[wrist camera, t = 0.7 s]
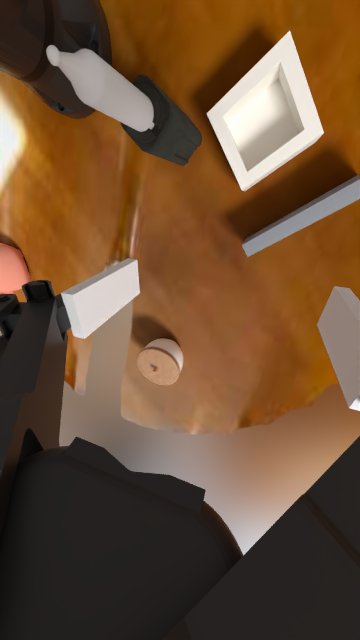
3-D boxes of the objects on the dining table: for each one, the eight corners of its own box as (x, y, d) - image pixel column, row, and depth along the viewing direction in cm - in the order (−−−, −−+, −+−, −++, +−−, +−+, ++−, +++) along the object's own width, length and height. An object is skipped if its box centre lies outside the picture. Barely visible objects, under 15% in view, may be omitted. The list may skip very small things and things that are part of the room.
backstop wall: (245, 238, 37) (241, 245, 32) (357, 174, 28) (376, 170, 24) (250, 249, 37) (247, 256, 32) (362, 189, 29) (381, 187, 24)
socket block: (214, 124, 31) (206, 113, 27) (286, 57, 26) (289, 30, 22) (244, 191, 33) (241, 190, 29) (315, 142, 28) (323, 132, 24)
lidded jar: (143, 343, 58) (124, 365, 50) (168, 323, 52) (150, 345, 44) (170, 370, 59) (156, 396, 51) (197, 354, 53) (185, 380, 45)
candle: (182, 109, 31) (25, -51, 11) (205, 138, 32) (96, 36, 12) (161, 143, 34) (7, 65, 14) (183, 169, 35) (65, 129, 15)
